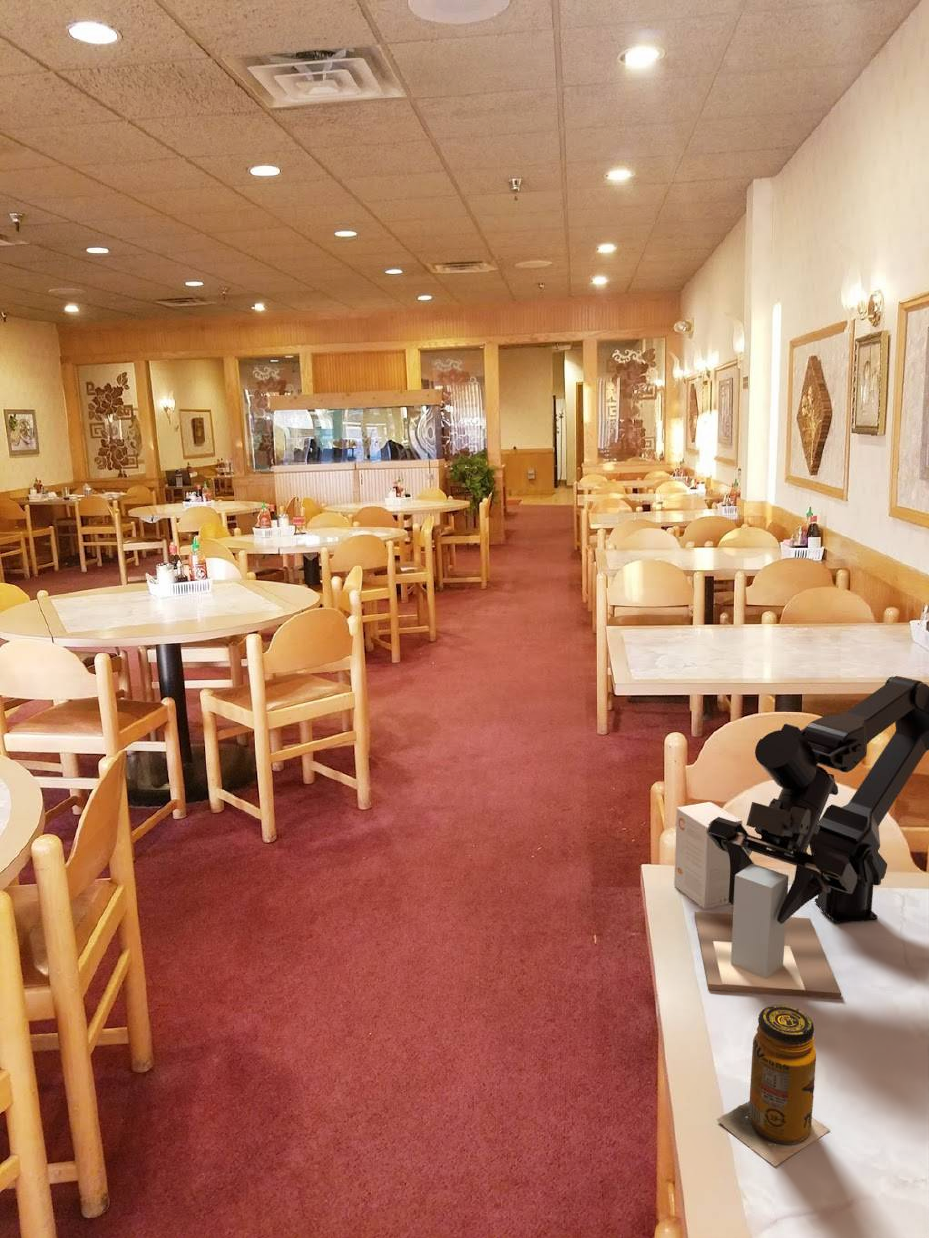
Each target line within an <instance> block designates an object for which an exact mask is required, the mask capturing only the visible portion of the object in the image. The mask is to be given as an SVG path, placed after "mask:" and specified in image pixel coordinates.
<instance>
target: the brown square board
mask: <svg viewBox="0 0 929 1238" xmlns="http://www.w3.org/2000/svg"><path fill="white" fill-rule="evenodd" d="M694 922H695V928H696V931H697V937H698V943H699V949H700V955H701V958H702V964H703V965H702V966H703V969H704V974H705V979H706V985H707V990H708V991H709V990H710V991H720V992H721V991H722V992H735V993H750V994H751V993H752V994H767V995H778V996H779V995H783V996H795V997H796V996H797V997H810V998H811V997H812V998H825V999H826V998H827V999H840V1000H841V999H842V991H841V989H840V986H839V984H838V982H837V979H836V977H835V975H834V973H833V972H834V971H833V970H832V967H831V965H830V963H829V960H828V957H827V955H826V953H825V950H824V948H823V946H822V944H821V940H820V939H819V937H818V933H817V932H816V930H815V928H814V925H813V922H812V920H811V918H810V917H809V918H808V917H794V916H793V917H792V916H791V917H789V918H788V919H787V920H786V927H785V944H784V960H783V965H782V966H781V967H780V968H779V969H778V970H777V971H775V972H774V973H773V974H772V975H771V976H770V977H768V978H767V979H765V978H763V977H760V976H758V975H756V974H753V973H751V972H749V971H746V970H744V969H742V968H739V967H737V966H735V965H732V964H731V948H732V928H733V913H727V912H726V913H724V912H723V913H721V912H706V911H705V912H704V911H703V912H702V911H694Z"/></svg>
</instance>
